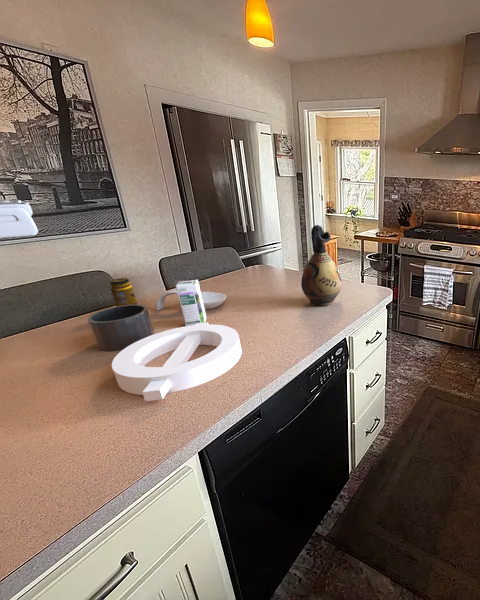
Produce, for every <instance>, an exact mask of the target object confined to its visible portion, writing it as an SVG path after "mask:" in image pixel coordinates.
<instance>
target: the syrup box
mask: <svg viewBox="0 0 480 600" xmlns="http://www.w3.org/2000/svg"><path fill="white" fill-rule="evenodd" d="M175 289H177V293H178V295H177V297H178V302H179V305H180V308H181V312H182V316H183V320H184V325H185V326H192V325H196V323H206V321H207V313H206V309H204V304H203V300H202V295H201V288H200V282H199V279H192V280H180V281H178V282H177V283H176V285H175Z"/></svg>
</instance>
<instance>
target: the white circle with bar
mask: <svg viewBox="0 0 480 600" xmlns="http://www.w3.org/2000/svg"><path fill="white" fill-rule="evenodd" d="M241 345H242V344H241V340H240V335H239V333H238V331H237V330H236V329H234V328H233V327H230V326H227V325H223V324H210V323H209V322H208V321H207V322H205V323H196V325H192V326H186V325H185V326H181V327H175V328H171V329H167V330H164V331H160V332H156V333H154V335H151V336H148V337H146V338H143V339H141V340H139V341H137V342H135V343H133V344H131V345H130V346H128V347H126V348H125V349H123V350H120V351H119V353H117V354H116V356H114V358H113V359H112V362H111V368H112V371H113V374H114V377H115V380H116V383H117V385H118V387H119V388H120V389H121V390H122V391H124V392H126V393H128V394H133V395H137V396H143V398H144V399H143V400H144V402H151V401H157V400H158V401H159V400H163V399H164V398H165V397H166V395H167V394H171V393H177V392H182V391H184V390H188V389H192V388H195V387H198V386H200V385H204V384H205V383H208V382H210V381H212V380H214V379H216V378H218V377H220V376H221V375H223V374H225V373H226V372H228V371H229V370H230V369H232V368H233V367H234V366H235V365H236V364H237V363H238V362H239V361H240V358H241V356H242V352H243V351H242V346H241ZM199 346H213V347H215V349H213V350H211V351H210V352H208V353H206V354H204V355H202V356H200V357H198V358H195V359H192V360H190V359H191V357H192V356H193V354H194V353H195V351H196V350H197V348H198V347H199ZM170 352H173V353H171V355H170V357H168V359H167V360H166V361H165V362H164V364H163V365H162V366H146V365H147V364H148V363H150V362H151V361H153V360H154V359H157V358H158V357H160V356H162V355H165V354H167V353H170Z"/></svg>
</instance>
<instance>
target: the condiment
mask: <svg viewBox="0 0 480 600" xmlns="http://www.w3.org/2000/svg"><path fill="white" fill-rule="evenodd" d="M109 284H110V287H111V288H110V291H111V295H112V298H113V301H114V304H115V307H117V306H123V305H139V304H138V301H137V298H136V294H135V291H134V287H133V285H131V282H130V279H129V278H127V277H121V278H115V279H111V280H110V281H109Z"/></svg>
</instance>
